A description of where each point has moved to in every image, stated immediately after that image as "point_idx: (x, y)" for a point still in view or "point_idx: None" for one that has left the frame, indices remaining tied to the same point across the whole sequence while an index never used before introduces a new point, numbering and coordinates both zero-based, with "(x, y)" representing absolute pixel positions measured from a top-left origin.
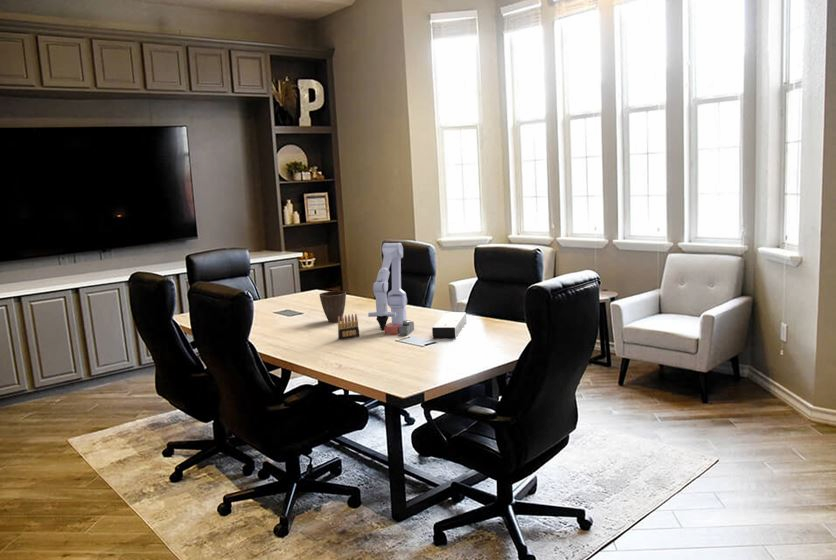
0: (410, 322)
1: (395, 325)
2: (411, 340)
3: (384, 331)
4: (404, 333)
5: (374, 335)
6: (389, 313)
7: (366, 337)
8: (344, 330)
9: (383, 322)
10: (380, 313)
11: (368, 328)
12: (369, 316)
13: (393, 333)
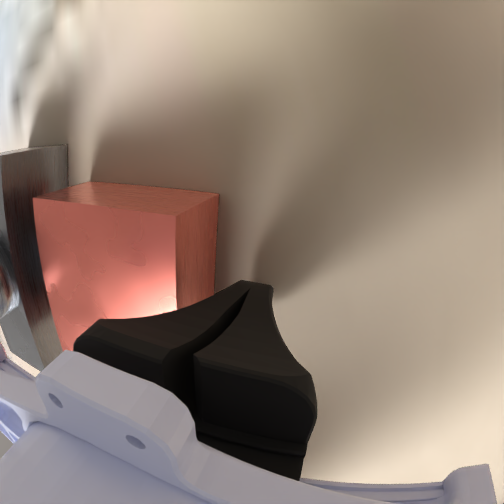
0: (8, 329)
1: (74, 288)
2: (6, 33)
3: (205, 201)
4: (26, 148)
5: (344, 145)
6: (15, 424)
7: (422, 56)
8: None
9: (178, 319)
10: (89, 468)
11: (422, 431)
12: (473, 472)
13: (117, 186)
